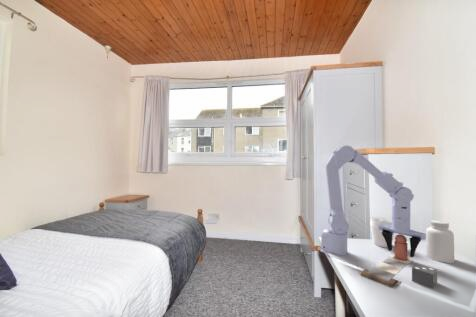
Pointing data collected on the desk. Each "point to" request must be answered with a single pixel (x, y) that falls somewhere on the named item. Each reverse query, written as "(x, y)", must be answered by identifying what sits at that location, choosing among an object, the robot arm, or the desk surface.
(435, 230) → the pill bottle
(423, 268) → the dark grey block
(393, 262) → the board
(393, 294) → the desk surface
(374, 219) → the cup
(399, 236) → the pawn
